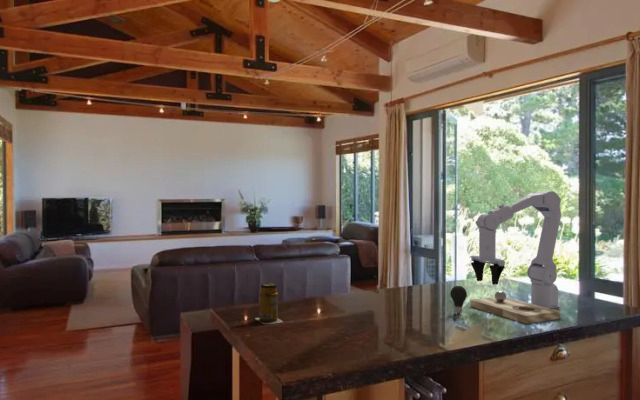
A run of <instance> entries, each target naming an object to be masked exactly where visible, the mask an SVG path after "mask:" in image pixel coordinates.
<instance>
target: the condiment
mask: <svg viewBox="0 0 640 400" xmlns="http://www.w3.org/2000/svg"><path fill="white" fill-rule="evenodd" d="M277 287H278V285H277V284H276V283H271V282H270V283H269V282H268V283H263V284H261V286H260V293H259V317H255V318H254V319H255V320H256V321H257V322H259V323H260V324H262V325H272V324H279V323H284V321H283V320H282V319H279V318H278V315H279V313H278V312H279V311H278V308H279V306H278V305H279V300H278V299H279V297H278V296H279V294H278V290H277Z"/></svg>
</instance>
